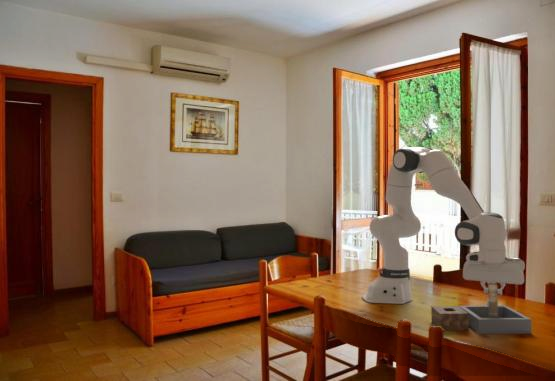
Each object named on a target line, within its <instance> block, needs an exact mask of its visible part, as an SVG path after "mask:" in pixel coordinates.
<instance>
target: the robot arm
mask: <svg viewBox="0 0 555 381" xmlns="http://www.w3.org/2000/svg"><path fill="white" fill-rule="evenodd" d="M417 173H419V174H422V173H425V176H426V177H427V179H428V181H429V184H430V186H431V188H432V189H433V190H434V192H436V194H437V195H439V196H442V197H444V198H448V199H450V200H452V201H454V202H456V203H458V205H460V207H461V208H462V210H463V211H464V213H465V214H466V216H467V218H468V219H467V220H463V221H460V222H458V223H457V225H456V226H455V227H454V228H455V229H454V236H455V238H456V241H457V242H458V244H460V245H462V246H478V251H474V252H470V253H467V255H466V256H465V260H466V261H465V262H464V264H463V268H462V278H463V279H464V280H466V281H476V282H477V281H478V282H480V285H481V287H482V288H483V294H488V287H487V286H486V285H485V284H486V283H487V282H496V283H497V284H498V283H499V284H500V286H501V287H500V288H497V295H498V296H503V290H504V288H505V287H506V284H511V285H523V284H524V282H525V274H524V270H525V268H526V264H525V261H524V260H522V259H521V258H520V257H519V258H518V257H516V258H515V257H509V256H508V257H507V255H506V254H507V249H506V245H505V240H506V236H507V235H506V224H505V223H506V222H505V219H504V217H503V215H501V214H500V213H495V212H491V211H484V209H483V208H482V206H481V204H480V203H479V202H478V200H477V198H476V197H475V195H474V194H473V193H472V191H471V190H470V189H469V187H468V186H467V185H466V184H465V183H464V181H463V180H462V178H461V177H460V176H459V173H458V172H457V170H456V168H455V167H454V165H453V163H452V162H451V160H450V158H449V157H448V156H447V155H446V153H445V152H444V151H443V150H441V149H433V148H431V147H423V146H413V147H401V148H399V149H396V151H395V152H394V153H393V155H392V163H391V165H390V166H389V171H388V174H387V180H386V189H385V190H386V191H385V202H386V203H387V204H388V205H389V206H391V207H392V210H393V211H392V212H393V214H382V215H379V216H376V217H373V218H372V219H371V220H370V223H369V231H370V234H371V235H372V236H373V237H374V238H375V239H376V240H377V241H378V243H379V244H380V246H381V249H382V254H383V257H382V258H383V267H382V268H381V267H377V269H376V271H377V272H378V274H379V275H378V276H377V277H376V278H375V279H374V280H372V281H371V282H370V283H369V284H368V286H367V291H366V293H363V294H362V300H363V301H365V302H366V303H373V304H375V303H376V304H395V305H397V304H398V305H403V304H406V303H409V302H412V301H413V295H412V292H411V285H410V278H411V270H410V268H409V252H408V250H407V249H406V248H404V247H403V246H402V245H401V243H400V239H403V238H410V237H414V236H417V235H418V234H419V233H420V231H421V228H422V224H421V221H420V219H419V217H418V216H417V215H416V214H415V212H414V210H413V208H412V189H413V187H412V186H413V178H414V175H415V174H417Z"/></svg>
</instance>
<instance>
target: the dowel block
mask: <svg viewBox="0 0 555 381" xmlns="http://www.w3.org/2000/svg"><path fill="white" fill-rule="evenodd" d="M459 306H460V305H431V309H430V311H431V323H432V324H433V325H434V324H435V325H437V326H441V327H442V328H443V329H444V330H443V331H469V328H470V326H469V317H468V313H467V312H466V311H464V310H463V309H461V308H460V307H459ZM435 325H434V326H435Z"/></svg>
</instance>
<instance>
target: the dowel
mask: <svg viewBox="0 0 555 381" xmlns="http://www.w3.org/2000/svg"><path fill="white" fill-rule="evenodd" d="M487 288H488V296H487V297H488V299H489V318H498V306H499V303H498V302H499V301H498V296H499V295H497V289H498V283H497V282H496V283H487Z"/></svg>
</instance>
